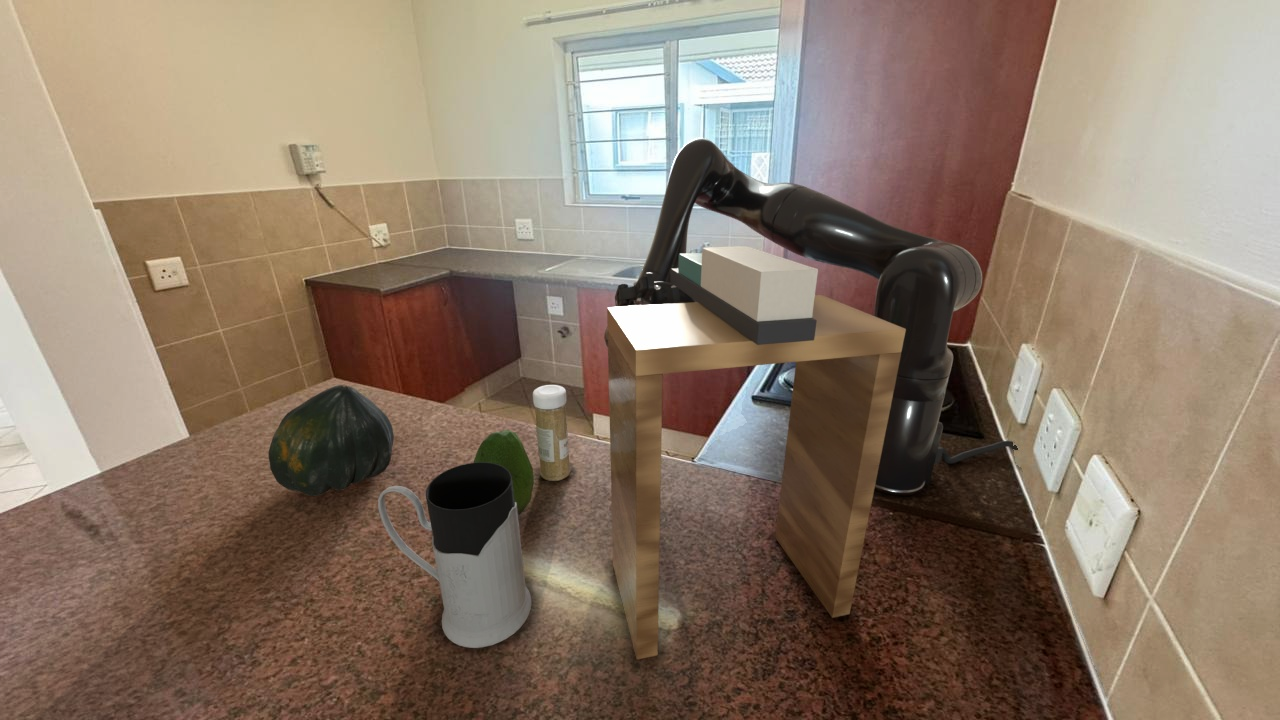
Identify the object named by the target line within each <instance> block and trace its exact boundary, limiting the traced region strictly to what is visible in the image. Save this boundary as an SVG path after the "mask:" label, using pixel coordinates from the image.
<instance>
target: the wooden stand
mask: <svg viewBox="0 0 1280 720" xmlns="http://www.w3.org/2000/svg"><path fill="white" fill-rule="evenodd" d="M606 318H607V319H606V323H607V325H606V328H608V347H607V359H608V360H607V361H608V362H607V365H608V366H607V367H608V404H609V405H608V406H609V407H608V408H609V409H608V410H609V446H610V447H609V449H610V450H609V451H610V489H611V491H610V493H611V533H612V535H611V537H612V538H611V539H612V567H613V571H614V575H615V579H616V583H617V587H618V591H619V596H620V600H621V604H622V606H623V611H624V614H625V615H624V616H625V619H626V623H627V627H628V630H629V635H630V639H631V643H632V647H633V651H634V654H635V658H636V660H642V659H647V658H651V657H657V656H658V655H659V652H658V651H659V605H660V603H659V601H660V599H659V597H660V592H659V591H660V543H661V494H662V493H661V491H662V489H661V487H662V485H661V484H662V483H661V482H662V436H663V435H662V434H663V431H662V429H663V378H664V376H663V375H665V374H675V373H685V372H686V373H687V372H697V371H698V372H699V371H709V370H710V371H711V370H721V369H730V368H742V367H743V368H744V367H754V366H765V365H775V364H777V365H778V364H787V363H795V369H794V375H793V376H794V377H793V384H792V392H791V393H792V394H791V403H790V410H789V418H788V426H787V434H786V435H787V436H786V444H785V453H784V460H783V468H782V475H781V476H782V477H781V487H780V494H779V502H778V511H777V519H776V527H775V528H776V529H775V536H774V538H775V540H776V541H777V542H778V544H779V545H780V547H781V548H782V549H783V551H784V553H785V554H786V555H787V557H788V558H789V560H790V561H791V562H792V564H793V565H794V566H795V568H796V569H797V570H798V572H799V573H800V575H801V576H802V578H803V579H804V581H805V582H806V583H807V585H808V586H809V587H810V589H811V590H812V592H813V593H814V595H815V596H816V597H817V599H818V600H819V602H820V603H821V604H822V606H823V607H824V608H825V610H826V612H827V613H828V614H829V616H830V617H831V618H832V619H833V618H839V617H843V616H847V615H850V614H851V609H852V604H853V600H854V599H853V598H854V594H855V590H856V584H857V579H858V574H859V569H860V564H861V559H862V553H863V550H864V549H863V548H864V544H865V538H866V533H867V528H868V523H869V518H870V514H871V508H872V504H873V503H872V502H873V498H874V492H875V489H874V488H875V483H876V478H877V473H878V468H879V463H880V458H881V453H882V448H883V443H884V438H885V433H886V428H887V423H888V418H889V412H890V407H891V402H892V397H893V392H894V387H895V382H896V377H897V372H898V367H899V362H900V357H901V352H902V346H903V341H904V336H905V331H906V329H904V328H902V327H900V326H897V325H895V324H892V323H890V322H887V321H885V320H882V319H880V318H877V317H875V316H873V314H870V313H868V312H865V311H862V310H860V309H857V308H855V307H853V306H850V305H848V304H845V303H843V302H840V301H838V300H835V299H833V298H831V297H828V296H825V295H822V294H815V299H814V306H813V314H812V318H814V319H816V320H817V323H816V330H815V338H814V340H813V341H800V342H788V343H775V344H763V345H757V344H755V343H754V342H753V341H751V340H750V339H748V338H747V337H746V336H744V335H743V334H741V333H740V332H739V331H737V330H736V329H734V328H733V327H732V326H730V325H729V324H727V323H726V322H725V321H723V320H722V319H720V318H719V317H718V316H716V315H715V314H714V313H712V312H711V311H709V310H708V309H707V308H705V307H704V306H702V305H701V304H700V303H698V302H692V303H675V304H658V305H641V306H624V307H616V306H609V307H606Z"/></svg>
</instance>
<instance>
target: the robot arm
mask: <svg viewBox="0 0 1280 720" xmlns="http://www.w3.org/2000/svg"><path fill="white" fill-rule="evenodd" d="M695 204H696V205H697V206H699V207H701V208H702V209H705V210H708V211H711V212H714V213H718V214H720V215H723V216H726V217H728V218H732V219H734V220H736V221H738V222H741V223H742V224H744V225H745V226H746V227H748V228H750V229H751V230H753V231H754V232H756V233H757V234H759V235H761V236H762V237H764V238H766V239H767V240H769V241H771V242H772V243H774V244H776V245H778V246H780V247H781V248H783V249H786V250H787V251H789V252H791V253H793V254H795V255H797V256H801V257H803V258H805V259H808V260H812V261H814V262H819V263H823V264H827V265H833V266H837V267H842V268H845V269H850V270H854V271H857V272H860V273H863V274H866V275H868V276H870V277H873V278H875V279H877V280H878V283H877V287H876V292H875V299H874V307H873V314H872V316H875V317H877V318H880V319H882V320H885V321H887V322H890V323H892V324H895V325H897V326H900V327H902V328H904V329H906V331H905V336H904V341H903V346H902V352H901V357H900V362H899V367H898V372H897V377H896V382H895V387H894V392H893V397H892V402H891V407H890V412H889V418H888V423H887V428H886V433H885V438H884V443H883V448H882V453H881V458H880V463H879V468H878V473H877V478H876V483H875V488H874V491H877V492H880V493H884V494H888V495H893V496H913V495H917V494H919V493H920V492H922V491H923V490H924V488H925V486H927V485H928V486H929V485H930V484H931V479H932V475H933V471H934V467H935V465H936V464H940V463H941V459H942V461H943V462H944V463H945V464H948V465H950V464H952V465H953V464H956V463H958V462H961V461H963V460H965V459H967V458H970V457H971V458H972V457H974V456H978V455H981V454H986V453H990V452H993V451H996V450H999V449H1003V448H1008V447H1009V448H1011V449H1012V450H1014V451H1019V450H1018V448H1017V446H1016V445H1014V446H1013V442H1014V441H1011V440H1001V441H998V442H995V443H992V444H989V445H985V446H980V447H977V448H972V449H969V450H966V451H963V452H960V453H958V454H956V455H954V456H951V457H950V453H949V450H947V449H946V448H944V447H942V446H940V442H941V438H942V434H943V429H944V424H943V423H942V422H940V417H941V414H942V408H943V405H944V399H945V397H946V392H947V387H948V383H949V378H950V374H951V371H952V367H953V364H954V363H953V362H954V354H953V351H952V350H951V349H950V348H949V347H948V340H949V334H950V329H951V324H952V320H953V316H954V315H953V314H954V312H957V311H958V310H961V309H963V308H964V307H965V306H967V305H969V304H970V303H971V302H972V301H973V300H974V299H976V297H977V296H978V294H979V293H980V291H981V289H982V285H983V272H982V269H981V266H980V263H979V261H978V260H977V259H976V257H974V255H973V254H971V252H969V250H967V249H966V248H964V247H962V246H961V245H958V244H955V243H952V242H948V241H945V240H940V239H938V238H934V237H930V236H926V235H923V234H919V233H915V232H913V231H909V230H907V229H903V228H899V227H896V226H894V225H891V224H888V223H885V222H884V221H881V220H879V219H878V218H875V217H874V216H872V215H870V214H868V213H866V212H863V211H862V210H860V209H857V208H855V207H853V206H851V205H848V204H846V203H845V202H842V201H840V200H838V199H835V198H833V197H831V196H829V195H827V194H825V193H822V192H819V191H817V190H814V189H813V188H811V187H808V186H804V185H802V184H798V183H794V182H773V183H768V182H763V181H761V180H758V179H756V178H754V177H752V176H751V175H748V174H747V173H745V172H743V171H742V170H740V169H739V168H737V167H736V166H735V165H734V164H733V163H732V162H731V161H730V160H729V159H728V157H727V156H726V155H725V153H724V152H723V151H722V150H721V149H720V148H719V147H718V146H717V145H716V144H715V142H713V141H712V140H710V139H709V138H705V137H698V138H697V137H696V138H694V139H691V140H690V141H688V142H687V143H686V144H684V145H683V147H682V148H680V150H679V151H678V153H677V154H676V156H675V158H674V160H673V163H672V166H671V169H670V172H669V175H668V179H667V184H666V188H665V193H664V197H663V201H662V204H661V208H660V212H659V216H658V220H657V224H656V229H655V232H654V236H653V239H652V243H651V246H650V249H649V251H648V253H647V256H646V259H645V262H644V264H643V266H642V269H641V271H640V274H639V276H638V278H637V281H635V282H633V285H632V286H629V285H628V284H627V283H621V284H619V285H617V288H616V292H615V294H614V303H615V305H614V306H615V307H624V306H641V305H658V304H675V303H692V302H697V301H695V300H694V299H693V298H691V297H690V296H688V295H687V294H686V293H684V292H683V291H681V290H680V289H679V288H677V287H676V286H675V285H673V284H672V283H671V282H670V279H671V269H674V268H679V254H686V253H687V248H688V247H687V246H688V245H687V243H688V230H689V225H690V218H691V215H692V211H693V209H694V206H695ZM603 337H604V338H603V340H604V344H605V346H606V347H607V348H608V328H607V327H606V328H605V331H604V336H603Z"/></svg>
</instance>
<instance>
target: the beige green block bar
mask: <svg viewBox="0 0 1280 720" xmlns="http://www.w3.org/2000/svg"><path fill="white" fill-rule="evenodd" d="M818 275H819V269H818V268H816V267H812V266H810V265H807V264H803V263H801V262H797V261H794V260H791V259H787V258H785V257H781V256H778V255H775V254H773V253H769V252H766V251H763V250H761V249H758V248H754V247H750V246H749V245H740V246H734V245H733V246H707V247H705V246H704V247H702V249H701V252H691V253H688V252H686V254H679V268H674V269H671V279H670V282H671V283H672V284H673V285H675V286H676V287H677V288H679V289H680V290H681V291H683V292H684V293H686V294H687V295H688V296H690V297H691V298H693V299H694V300H695V301H697V302H698V303H700V304H701V305H702V306H704V307H705V308H707V309H708V310H709V311H711V312H712V313H714V314H715V315H716V316H718V317H719V318H720V319H722V320H723V321H725V322H726V323H727V324H729V325H730V326H732V327H733V328H734V329H736V330H737V331H739V332H740V333H741V334H743V335H744V336H746V337H747V338H748V339H750V340H751V341H753V342H754V343H755V344H757V345H763V344H775V343H788V342H800V341H813V340H814V338H815V330H816V323H817V320H816V319H814V318H812V314H813V306H814V299H815V295H816V289H817V281H818Z"/></svg>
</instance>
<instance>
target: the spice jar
mask: <svg viewBox="0 0 1280 720" xmlns="http://www.w3.org/2000/svg"><path fill="white" fill-rule="evenodd" d="M532 391H533V392H532V403H533V406H534V412H535V429H536V441H537V450H538V457H539V466H540V469H539V475H540V477H541V478H542V479H544V480H546V481H550V482H557V481H561V480H564V479H566V478H567V477H568V476H570V474H571V470H572V469H571V466H570V446H569V435H568V434H569V433H568V422H567V408H566V405H567V400H568V399H567V390H566V388H565V387H563V386H562V385H559V384H545V385H541V386H539V387H536V388H535V389H534V390H532Z"/></svg>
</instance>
